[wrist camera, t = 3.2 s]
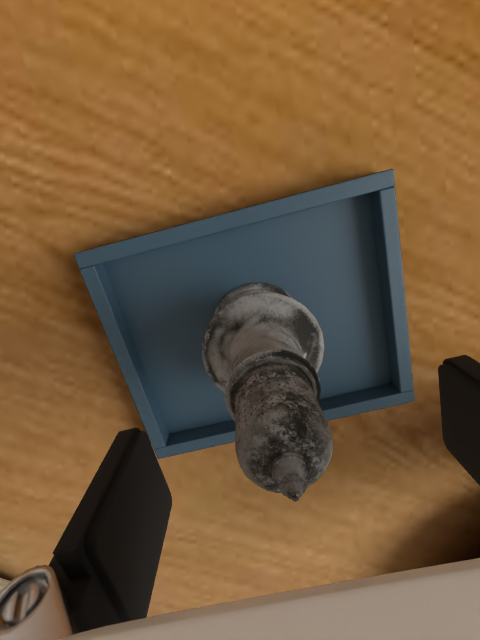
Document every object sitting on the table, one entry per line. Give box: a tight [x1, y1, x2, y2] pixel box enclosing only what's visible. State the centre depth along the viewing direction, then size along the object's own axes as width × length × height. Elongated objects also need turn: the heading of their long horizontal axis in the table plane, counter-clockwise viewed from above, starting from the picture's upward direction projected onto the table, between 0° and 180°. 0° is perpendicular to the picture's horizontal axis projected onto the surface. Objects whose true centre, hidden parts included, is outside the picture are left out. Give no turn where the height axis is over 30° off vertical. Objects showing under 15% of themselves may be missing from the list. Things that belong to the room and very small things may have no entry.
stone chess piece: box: [202, 283, 333, 501], centre depth 13 cm, size 6×6×12 cm
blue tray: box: [74, 169, 415, 459], centre depth 19 cm, size 13×16×2 cm
